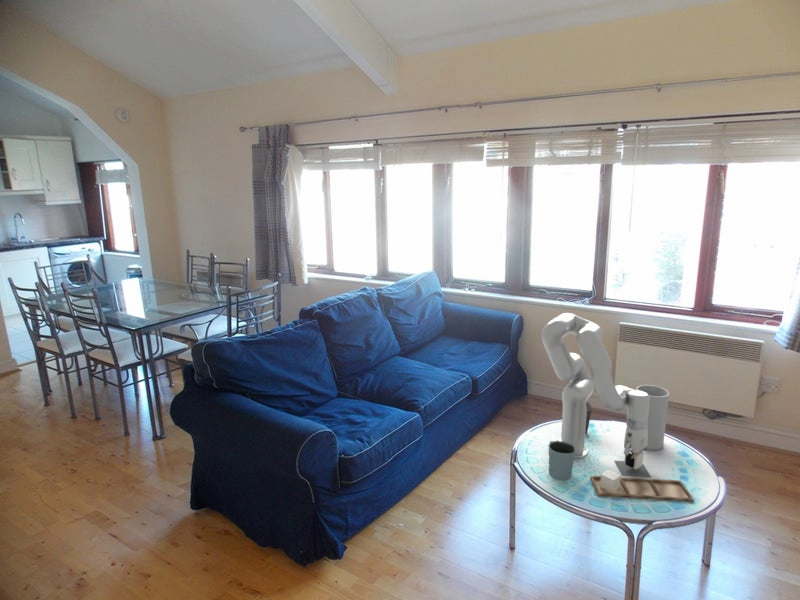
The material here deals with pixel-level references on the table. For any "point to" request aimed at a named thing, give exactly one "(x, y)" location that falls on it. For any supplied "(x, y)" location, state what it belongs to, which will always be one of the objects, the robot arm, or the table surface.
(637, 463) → the letter block
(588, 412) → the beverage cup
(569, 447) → the grey green pot
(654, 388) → the cylinder vase
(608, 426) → the table surface
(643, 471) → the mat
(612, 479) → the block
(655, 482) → the tray board
